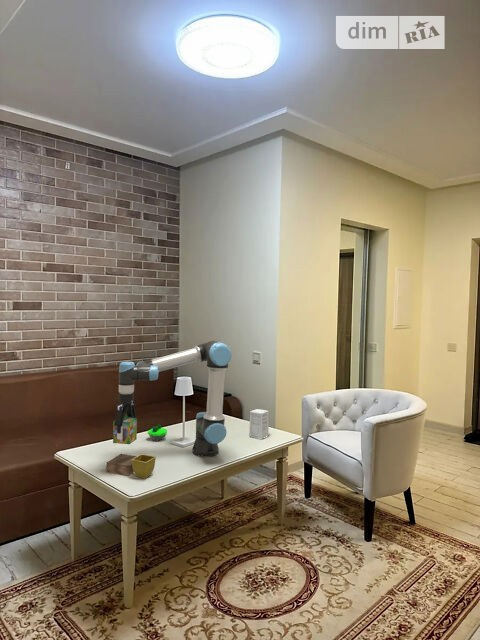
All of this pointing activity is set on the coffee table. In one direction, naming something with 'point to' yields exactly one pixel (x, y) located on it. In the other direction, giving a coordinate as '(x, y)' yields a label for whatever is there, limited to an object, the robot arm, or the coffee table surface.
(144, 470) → the flower pot
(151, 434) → the green moss planter
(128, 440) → the chalk box
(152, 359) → the robot arm
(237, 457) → the coffee table surface
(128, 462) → the podium
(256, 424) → the supplement box
